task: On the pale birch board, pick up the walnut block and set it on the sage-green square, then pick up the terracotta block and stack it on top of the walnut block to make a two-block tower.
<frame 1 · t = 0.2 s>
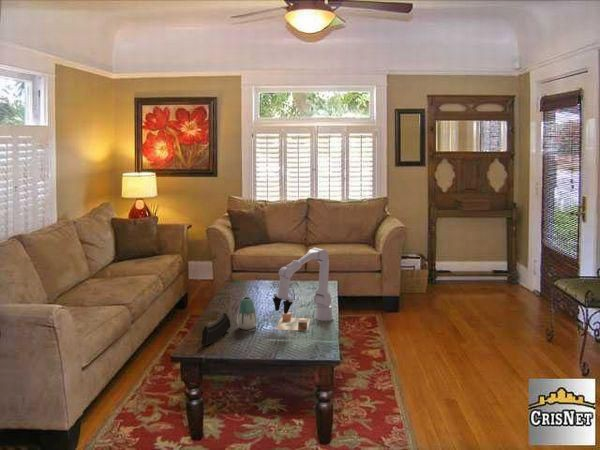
hand: (281, 312, 346), 10 cm above the table, tool pointing down, fingers open, 7 cm apart
birch board: (293, 325, 355), on the table
vase: (247, 328, 350), on the table
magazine: (216, 339, 332), on the table
walnut block: (302, 328, 347), point 1 cm above the table, touching birch board
terracotta block: (286, 319, 364), point 1 cm above the table, touching birch board
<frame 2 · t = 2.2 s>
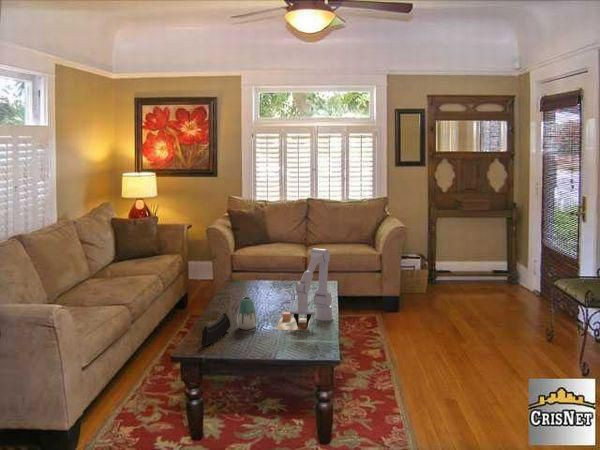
hand: (302, 326, 347), 2 cm above the table, tool pointing down, fingers closed on walnut block, 5 cm apart
walnut block: (302, 328, 347), point 1 cm above the table, touching birch board, gripper
everything else where it was.
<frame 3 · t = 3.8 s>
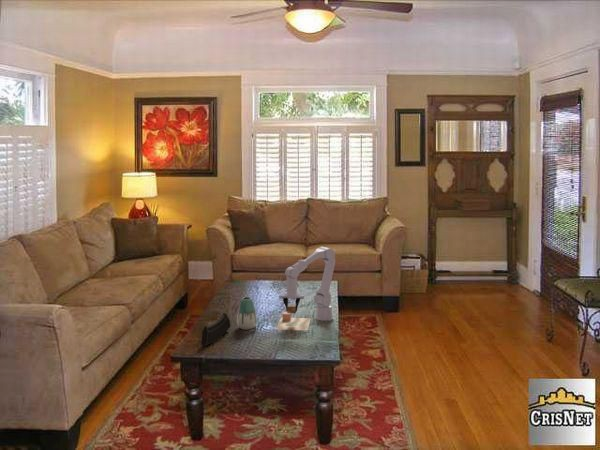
hand: (291, 310, 353), 9 cm above the table, tool pointing down, fingers closed on walnut block, 5 cm apart
walnut block: (291, 312, 353), point 8 cm above the table, touching gripper
everything else where it was.
when the fingers open (3 cm above the table, at t = 5.4 s): walnut block stays where it is, resting on birch board.
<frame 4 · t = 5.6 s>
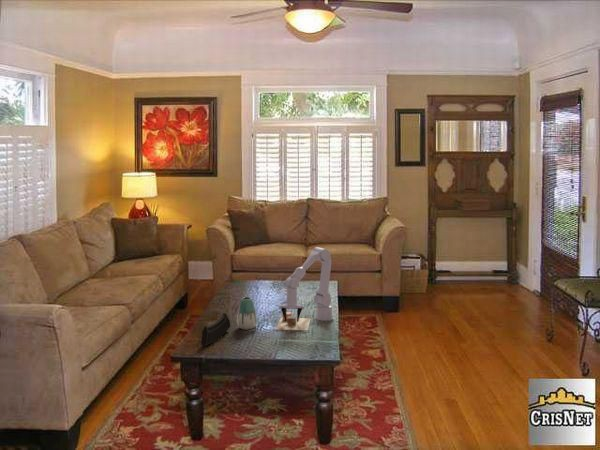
hand: (291, 320, 354), 3 cm above the table, tool pointing down, fingers open, 6 cm apart
walnut block: (291, 324, 354), point 1 cm above the table, touching birch board
everything else where it was.
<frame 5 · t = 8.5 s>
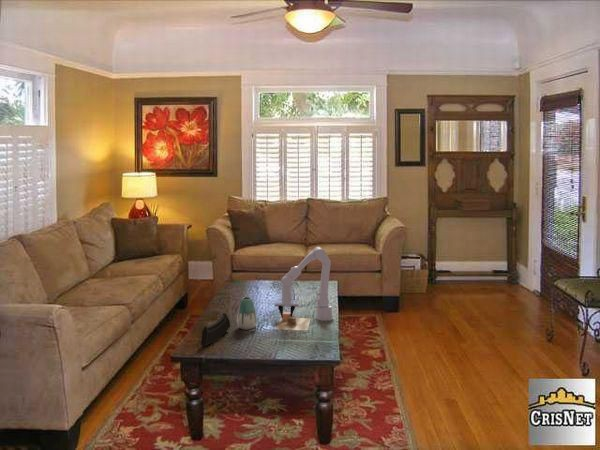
hand: (286, 318, 364), 2 cm above the table, tool pointing down, fingers closed on terracotta block, 5 cm apart
terracotta block: (286, 319, 364), point 1 cm above the table, touching birch board, gripper
everything else where it was.
when the fingers open (7 cm above the table, at t = 11.1 s): terracotta block stays where it is, resting on walnut block.
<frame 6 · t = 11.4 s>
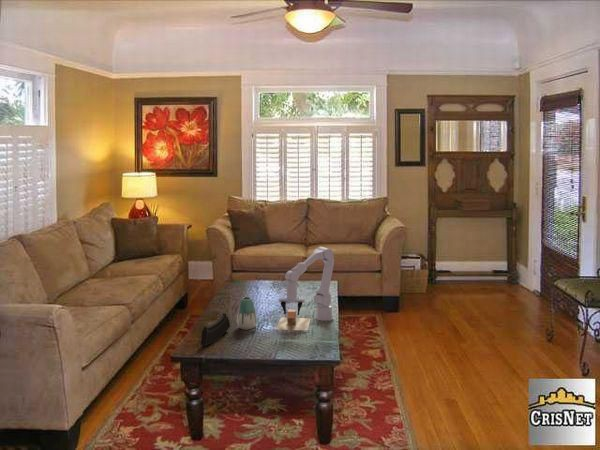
hand: (291, 314, 354), 7 cm above the table, tool pointing down, fingers open, 7 cm apart
walnut block: (291, 324, 354), point 1 cm above the table, touching birch board, terracotta block
terracotta block: (291, 317, 354), point 5 cm above the table, touching walnut block
everything else where it was.
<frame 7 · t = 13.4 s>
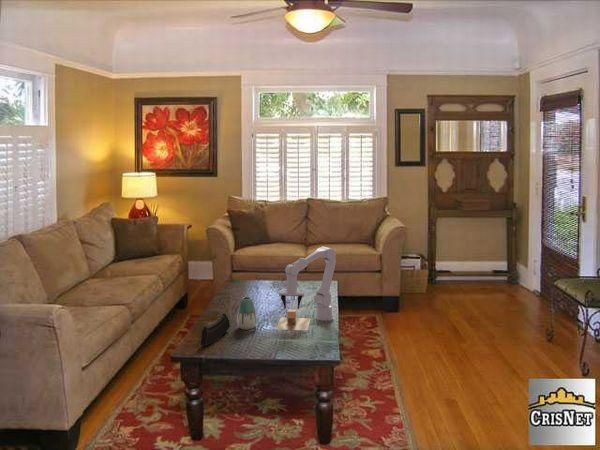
hand: (291, 308, 353), 10 cm above the table, tool pointing down, fingers open, 7 cm apart
nothing on the table moved.
at the end: walnut block 0.1 cm from the target spot, point 1.1 cm above the table; terracotta block 0.2 cm off-centre on the walnut block, point 4.0 cm above the walnut block's base; terracotta block tilted 0° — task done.
